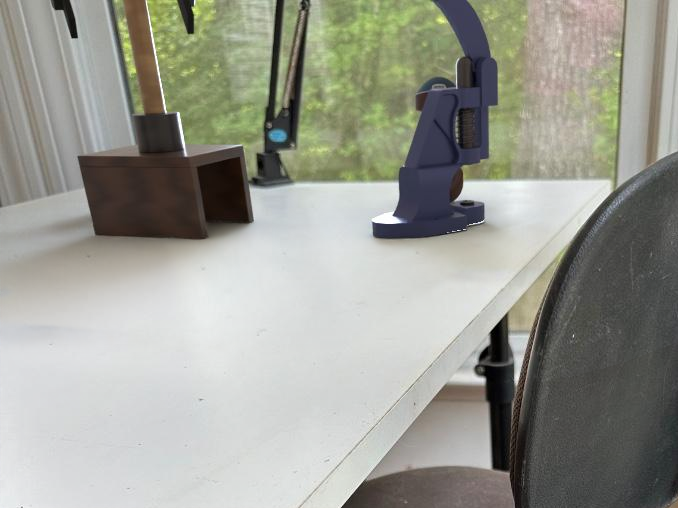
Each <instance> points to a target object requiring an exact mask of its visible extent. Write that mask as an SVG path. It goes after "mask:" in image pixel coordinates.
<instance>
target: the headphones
mask: <svg viewBox="0 0 678 508" xmlns="http://www.w3.org/2000/svg"><path fill="white" fill-rule="evenodd" d="M452 87H456V83H454V82H453V81H452V80H450V79H449V78H447V77H444V76H433V77H431V78H429V79H428V80H426V81H424V82H423V84H422V85H421V86H420V87H419V88H418V90H417V92H416V94H415V97H414V105H415V106H414V107H415V110H416V111H417V112H422V109H423V106H424V103H425V100H426V97H427V94H428V91H429V90H430V89H442V88H452ZM463 189H464V170H463V169H462V167H461V168H460V169H458V170H457V171H456V173H455V175H454V177H453V180H452V182H451V186H450V203H451V202H455V201H456V200H457V199H458V198H459V197H460V195H462V194H461V193H462V191H463Z"/></svg>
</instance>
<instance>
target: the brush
mask: <svg viewBox="0 0 678 508" xmlns="http://www.w3.org/2000/svg"><path fill="white" fill-rule="evenodd" d="M122 4H123V5H122V6H123V11H124V16H125V21H126V26H127V31H128V36H129V41H130V47H131V52H132V57H133V63H134V69H135V73H136V78H137V79H136V80H137V84H138V89H139V94H140V99H141V105H142V109H143V112H137V113H133V114H131V119H132V124H133V130H134V134H135V139H136V145H138V150H139V152H143V153H159V152H172V151H179V150H183V149H185V145H186V144H185V139H184V133H183V127H182V120H181V115H180V111H175V110H174V111H173V110H172V111H171V110H170V111H168V110H167V107H166V103H165V97H164V91H163V87H162V81H161V76H160V69H159V64H158V58H157V52H156V48H155V42H154V36H153V31H152V30H153V29H152V25H151V18H150V14H149V9H148V2H147V0H122Z"/></svg>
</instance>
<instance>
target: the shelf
mask: <svg viewBox="0 0 678 508" xmlns="http://www.w3.org/2000/svg"><path fill="white" fill-rule="evenodd" d="M76 157H77V161H78V165H79V170H80V175H81V178H82V179H81V180H82V183H83V187H84V192H85V196H86V201H87V205H88V209H89V213H90V218H91V222H92V226H93V231H94V234H95V236H97V235H98V236H116V237H117V236H119V237H120V236H121V237H141V238H142V237H143V238H145V237H146V238H165V237H174V238H173V239H189V238H190V239H192V240H193V239H195V240H205V239H207V238H209V234H208V227H207V222H217V223H219V222H223V223H247V224H248V223H252V222H254V221H255V219H254V218H255V217H254V212H253V204H252V197H251V191H250V183H249V175H248V168H247V161H246V155H245V148H244V144H185V149H183V150H179V151H172V152H159V153H143V152H139V150H138V145H137V144H133V145H132V144H131V145H129V146H122V147H117V148H116V147H115V148H111V149H107V150H100V151H95V152H90V153H84V154H79V155H77V156H76ZM206 237H207V238H206Z"/></svg>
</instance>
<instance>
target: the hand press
mask: <svg viewBox="0 0 678 508" xmlns="http://www.w3.org/2000/svg"><path fill="white" fill-rule="evenodd" d="M429 1H430V2H432V3H434V5H435V6H436V7H437V8H438V9H439V10H440V11H441V13H442V14H443V16H444V17H445V19H446V20H447V22H448V23H449V25H450V27H451V29H452V30H453V33H454V34H455V36H456V39H457V40H458V42H459V45H460V47H461V50H462V52H463V54H464V56H460V57H459V58H458V59H457V61H456V62H455V63H456V64H455V79H456V80H455V82H456V83H455V85H456V87H452V88H442V89H430V90H429V91H428V94H427V97H426V100H425V103H424V106H423V109H422V112H421V113H420V116H419V119H418V122H417V125H416V127H415V131H414V134H413V137H412V141H411V143H410V145H409V149H408V152H407V155H406V158H405V162H404V165H402V166H401V167H399V169H398V201H397V205H396V207H395V210H394V211H391V212H386V213H384V214H381V215H379V216H376V217H374V218H372V219H371V225H372V236H373V237H376V238H382V239H408V238H409V239H410V238H411V237H413V238H426V237H425V236H429V237H433V236H432V235H436V236H439V235H438V234H442V235H444V234H443V233H447V232H452V231H457V230H463V229H467V230H468V227H467V225H469V224H473V223H478V222H481V221H483V220H484V219H485V220H486V217H485V207H486V206H485V203H484V202H482V201H475V200H473V199H462V200H459V201H453V202H451V203H450V186H451V182H452V180H453V177H454V175H455V173H456V171H457V170H458V169H460V168H461V169H462V167H464V166H472V165H477V164H480V163H481V160H488V159H490V120H489V119H490V115H489V114H490V112H489V110H490V109H489V108H490V107H495V106H499V93H498V92H499V69H498V68H499V67H498V62H497V61H496V59H495V58H494V57H492V55H491V49H490V45H489V41H488V38H487V34H486V32H485V29H484V27H483V25H482V22H481V19H480V18H479V15H478V14H477V11H476V10H475V9H474V7H473V6H472V4H471V3H470V1H468V0H429ZM456 123H457V125H456ZM456 129H457V131H456Z"/></svg>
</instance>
